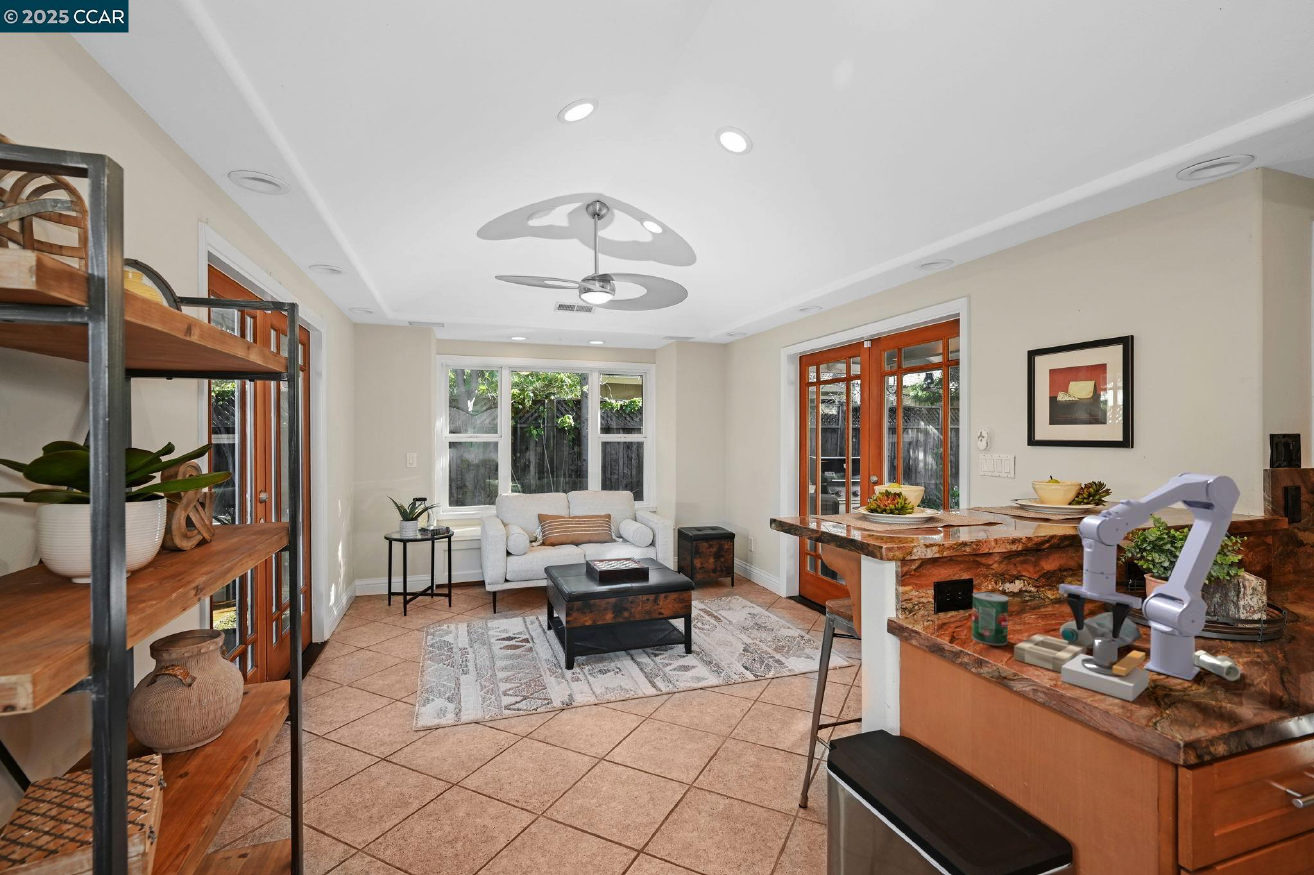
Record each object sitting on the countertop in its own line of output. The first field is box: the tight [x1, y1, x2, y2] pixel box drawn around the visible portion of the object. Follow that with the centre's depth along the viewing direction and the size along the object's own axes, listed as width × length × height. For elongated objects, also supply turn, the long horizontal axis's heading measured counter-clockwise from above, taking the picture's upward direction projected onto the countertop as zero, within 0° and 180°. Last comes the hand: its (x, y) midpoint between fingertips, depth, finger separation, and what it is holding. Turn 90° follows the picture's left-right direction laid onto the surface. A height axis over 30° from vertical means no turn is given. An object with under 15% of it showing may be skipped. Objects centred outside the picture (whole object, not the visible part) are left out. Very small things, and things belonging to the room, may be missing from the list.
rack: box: [1013, 633, 1087, 673], centre depth 139 cm, size 14×10×3 cm
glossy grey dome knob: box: [1081, 637, 1129, 676], centre depth 126 cm, size 8×8×9 cm
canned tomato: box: [971, 591, 1010, 646], centre depth 151 cm, size 8×8×11 cm
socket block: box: [1060, 654, 1150, 702], centre depth 126 cm, size 12×12×3 cm
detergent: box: [1059, 611, 1143, 650], centre depth 147 cm, size 13×7×25 cm
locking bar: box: [1113, 649, 1146, 676], centre depth 126 cm, size 15×2×1 cm, turn 129°
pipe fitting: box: [1194, 649, 1241, 682], centre depth 132 cm, size 8×4×7 cm
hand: (1097, 633), depth 132 cm, fingers open, 6 cm apart
